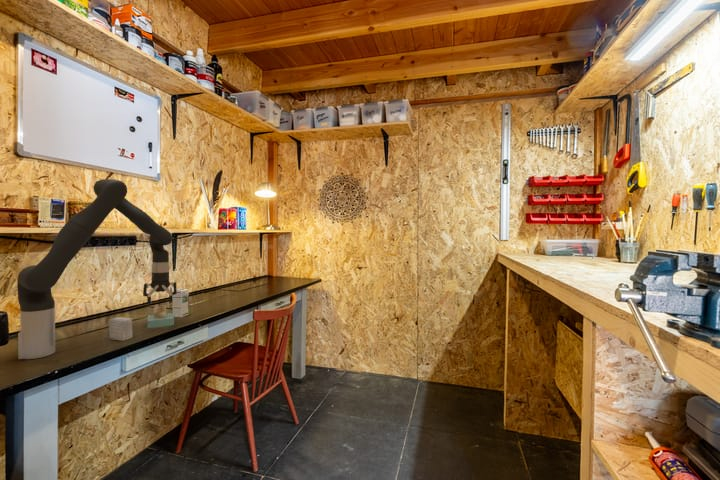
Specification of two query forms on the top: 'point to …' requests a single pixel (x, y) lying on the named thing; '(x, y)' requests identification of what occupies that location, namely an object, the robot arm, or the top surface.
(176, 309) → the syrup box
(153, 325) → the teal block
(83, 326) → the top surface
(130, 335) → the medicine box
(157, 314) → the birch cube
